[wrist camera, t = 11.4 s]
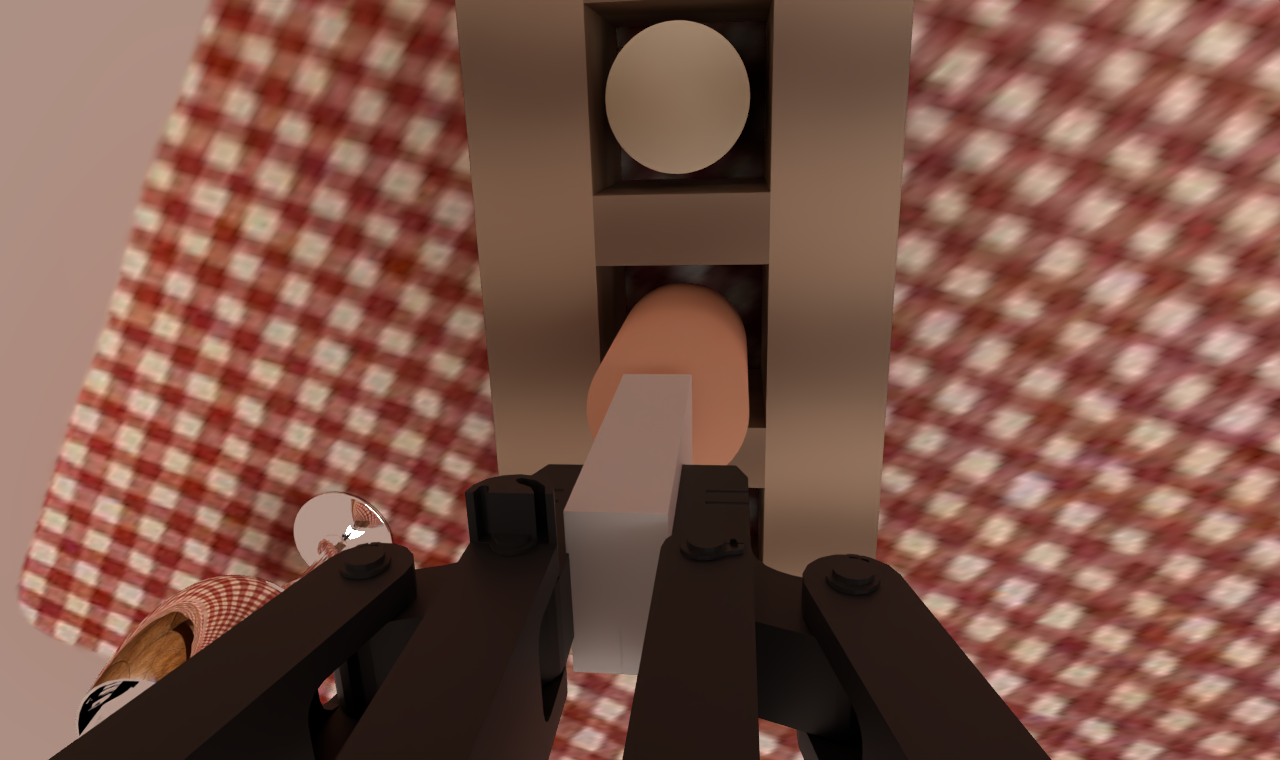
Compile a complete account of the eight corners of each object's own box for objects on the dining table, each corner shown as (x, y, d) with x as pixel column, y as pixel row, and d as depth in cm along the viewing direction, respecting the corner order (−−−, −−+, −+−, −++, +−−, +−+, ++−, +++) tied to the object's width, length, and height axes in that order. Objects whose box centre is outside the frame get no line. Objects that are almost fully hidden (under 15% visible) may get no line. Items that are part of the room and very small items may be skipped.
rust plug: (619, 282, 24) (582, 334, 18) (747, 282, 24) (750, 334, 18) (624, 402, 25) (590, 485, 19) (746, 404, 25) (748, 489, 19)
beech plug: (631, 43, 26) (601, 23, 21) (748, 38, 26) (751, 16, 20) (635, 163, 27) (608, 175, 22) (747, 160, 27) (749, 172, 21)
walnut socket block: (511, -17, 27) (450, -53, 21) (879, -37, 25) (919, -81, 20) (552, 561, 34) (515, 651, 28) (845, 571, 32) (868, 669, 27)
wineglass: (285, 462, 34) (55, 638, 22) (416, 498, 33) (251, 693, 22) (274, 577, 36) (58, 792, 24) (398, 611, 35) (238, 844, 24)
